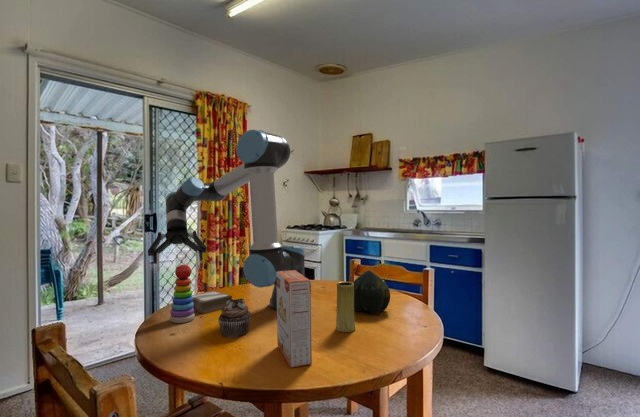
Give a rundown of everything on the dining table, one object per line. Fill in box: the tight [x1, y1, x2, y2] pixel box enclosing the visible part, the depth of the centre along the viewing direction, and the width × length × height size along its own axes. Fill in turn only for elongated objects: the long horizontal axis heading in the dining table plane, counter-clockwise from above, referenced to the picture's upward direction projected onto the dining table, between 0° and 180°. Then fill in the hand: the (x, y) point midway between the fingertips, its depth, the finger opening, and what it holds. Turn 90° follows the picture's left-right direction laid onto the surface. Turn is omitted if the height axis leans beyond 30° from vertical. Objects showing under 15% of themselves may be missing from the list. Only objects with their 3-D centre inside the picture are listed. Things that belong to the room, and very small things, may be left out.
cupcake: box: [217, 298, 252, 339], centre depth 108 cm, size 10×10×10 cm
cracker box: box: [276, 270, 313, 369], centre depth 92 cm, size 14×6×21 cm, turn 19°
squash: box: [352, 269, 391, 315], centre depth 130 cm, size 14×15×15 cm
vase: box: [335, 281, 356, 333], centre depth 111 cm, size 6×6×14 cm
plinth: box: [191, 290, 233, 315], centre depth 136 cm, size 12×12×4 cm
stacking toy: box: [169, 264, 196, 324], centre depth 121 cm, size 8×8×19 cm
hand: (178, 268), depth 128 cm, fingers open, 13 cm apart
